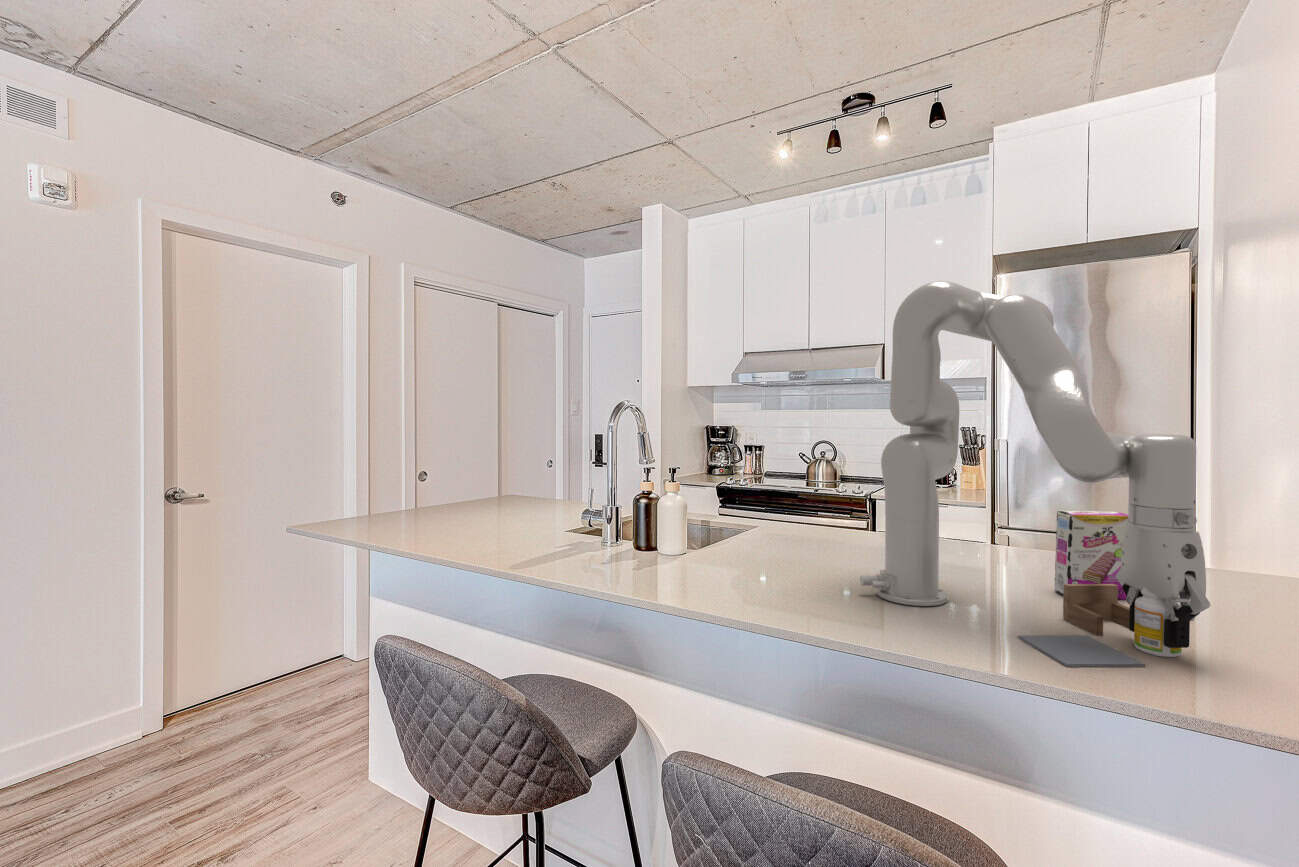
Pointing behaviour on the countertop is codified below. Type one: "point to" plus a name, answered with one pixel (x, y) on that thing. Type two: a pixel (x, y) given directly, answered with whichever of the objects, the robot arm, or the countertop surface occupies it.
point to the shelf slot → (1093, 606)
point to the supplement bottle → (1152, 625)
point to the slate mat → (1080, 651)
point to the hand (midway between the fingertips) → (1158, 637)
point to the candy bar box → (1089, 548)
